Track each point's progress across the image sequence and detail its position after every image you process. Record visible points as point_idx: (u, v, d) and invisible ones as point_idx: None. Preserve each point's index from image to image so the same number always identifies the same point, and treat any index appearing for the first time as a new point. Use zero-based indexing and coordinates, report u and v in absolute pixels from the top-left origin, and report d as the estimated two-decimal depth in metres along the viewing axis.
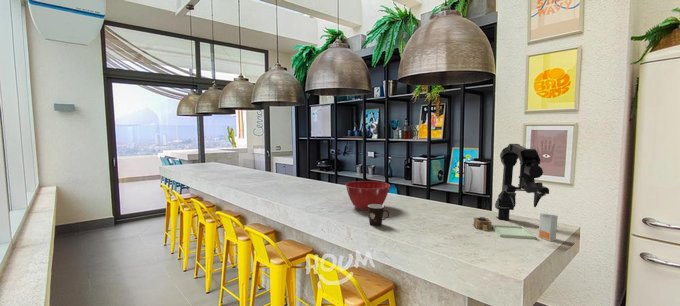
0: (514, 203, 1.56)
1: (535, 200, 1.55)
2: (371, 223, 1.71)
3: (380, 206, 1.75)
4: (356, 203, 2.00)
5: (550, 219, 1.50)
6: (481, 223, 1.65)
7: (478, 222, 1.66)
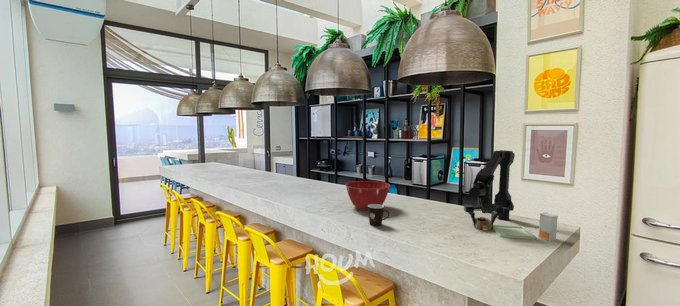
0: (474, 222, 1.69)
1: (492, 219, 1.68)
2: (371, 223, 1.71)
3: (380, 206, 1.75)
4: (356, 203, 2.00)
5: (550, 219, 1.50)
6: (481, 223, 1.65)
7: (478, 222, 1.66)
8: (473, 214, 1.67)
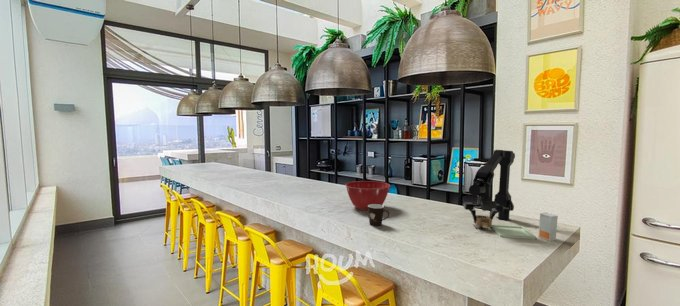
0: (474, 219, 1.68)
1: (490, 217, 1.68)
2: (371, 223, 1.71)
3: (380, 206, 1.75)
4: (356, 203, 2.00)
5: (550, 219, 1.50)
6: (481, 220, 1.65)
7: (478, 219, 1.65)
8: (474, 211, 1.67)
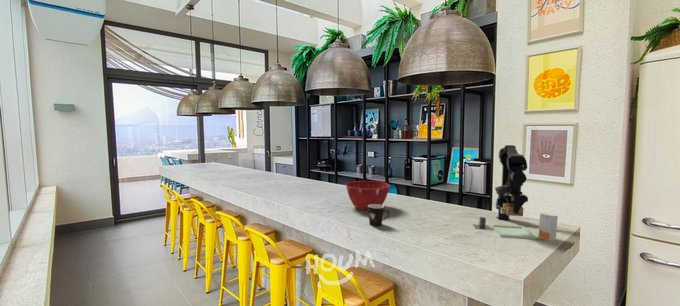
0: None
1: None
2: (371, 223, 1.71)
3: (380, 206, 1.75)
4: (356, 203, 2.00)
5: (550, 219, 1.50)
6: (504, 206, 1.62)
7: (503, 204, 1.63)
8: (505, 197, 1.65)
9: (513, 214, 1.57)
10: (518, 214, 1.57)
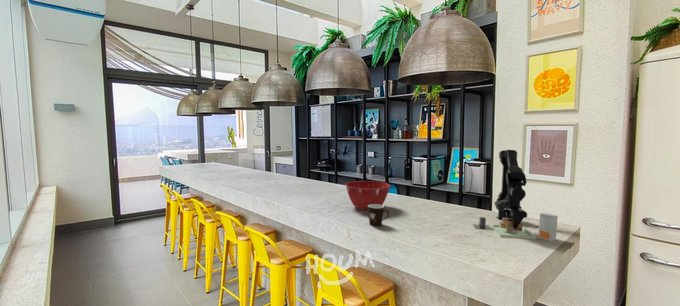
0: None
1: None
2: (371, 223, 1.71)
3: (380, 206, 1.75)
4: (356, 203, 2.00)
5: (550, 219, 1.50)
6: (503, 221, 1.63)
7: (502, 219, 1.64)
8: (504, 211, 1.65)
9: (512, 229, 1.58)
10: (517, 229, 1.57)
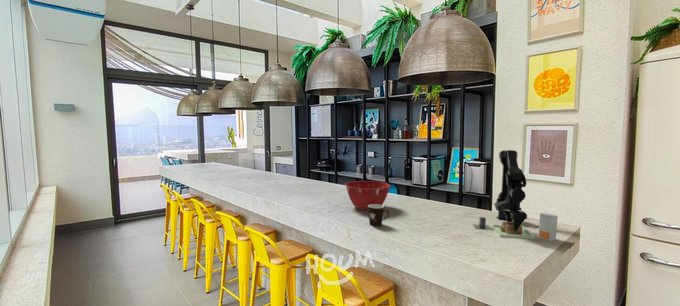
0: (507, 221, 1.66)
1: None
2: (371, 223, 1.71)
3: (380, 206, 1.75)
4: (356, 203, 2.00)
5: (550, 219, 1.50)
6: (503, 224, 1.63)
7: (502, 223, 1.64)
8: (504, 212, 1.66)
9: (512, 232, 1.58)
10: (517, 232, 1.57)
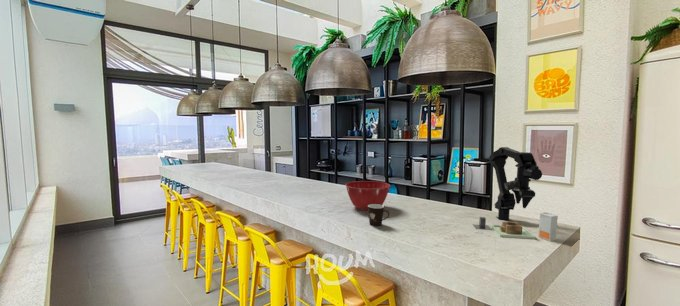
0: (516, 200, 1.74)
1: None
2: (371, 223, 1.71)
3: (380, 206, 1.75)
4: (356, 203, 2.00)
5: (550, 219, 1.50)
6: (503, 224, 1.63)
7: (502, 223, 1.64)
8: (513, 191, 1.75)
9: (512, 232, 1.58)
10: (517, 232, 1.57)
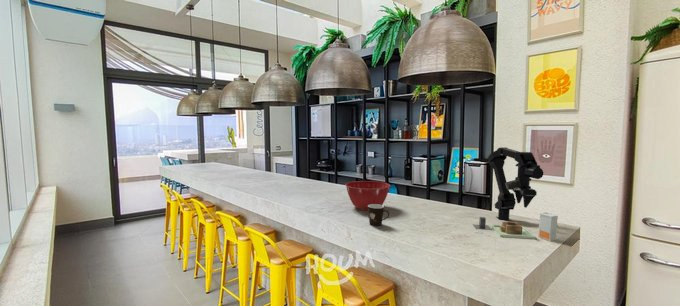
0: None
1: None
2: (371, 223, 1.71)
3: (380, 206, 1.75)
4: (356, 203, 2.00)
5: (550, 219, 1.50)
6: (503, 224, 1.63)
7: (502, 223, 1.64)
8: None
9: (512, 232, 1.58)
10: (517, 232, 1.57)
